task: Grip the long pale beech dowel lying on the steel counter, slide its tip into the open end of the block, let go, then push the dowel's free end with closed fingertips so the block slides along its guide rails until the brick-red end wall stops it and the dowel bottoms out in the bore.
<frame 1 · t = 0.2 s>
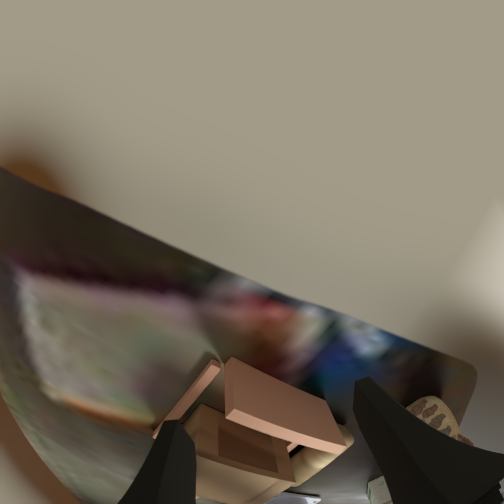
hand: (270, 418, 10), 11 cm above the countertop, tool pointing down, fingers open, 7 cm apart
block: (228, 462, 20), point 3 cm above the countertop, slide at 0.0 cm
syrup box: (384, 480, 29), on the countertop
figurine: (415, 416, 26), on the countertop
short dowel: (310, 445, 25), on the countertop, tilted 6°
end wall and guide rails: (238, 427, 23), on the countertop
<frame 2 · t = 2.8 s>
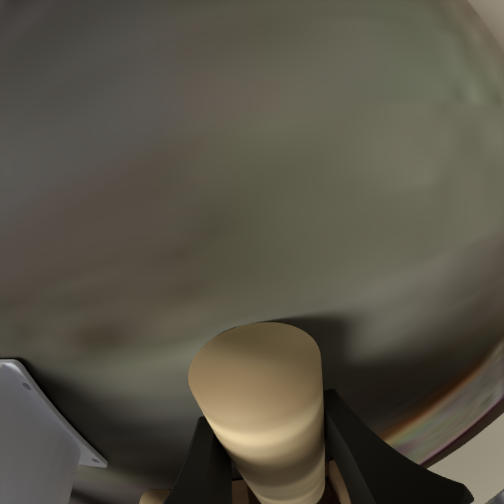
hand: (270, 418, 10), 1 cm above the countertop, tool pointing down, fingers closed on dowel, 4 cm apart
dowel: (270, 415, 12), on the countertop, touching gripper
when the fingers open (2 cm above the countertop, at t = 5.0 s): dowel stays where it is, on the countertop.
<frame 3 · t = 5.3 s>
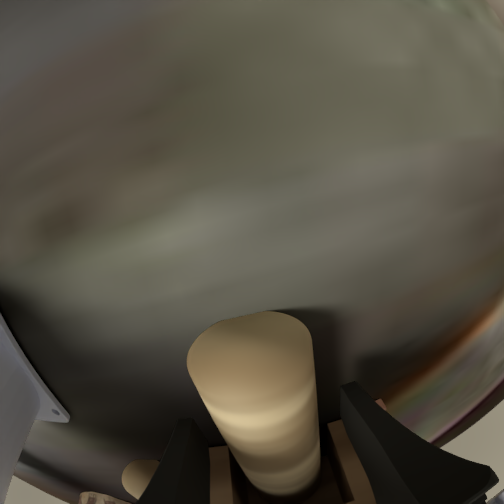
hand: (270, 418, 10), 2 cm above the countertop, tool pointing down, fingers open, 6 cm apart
block: (292, 495, 12), point 3 cm above the countertop, slide at 0.0 cm
figurine: (113, 503, 18), on the countertop
short dowel: (172, 480, 16), on the countertop, tilted 8°
dowel: (268, 404, 13), on the countertop
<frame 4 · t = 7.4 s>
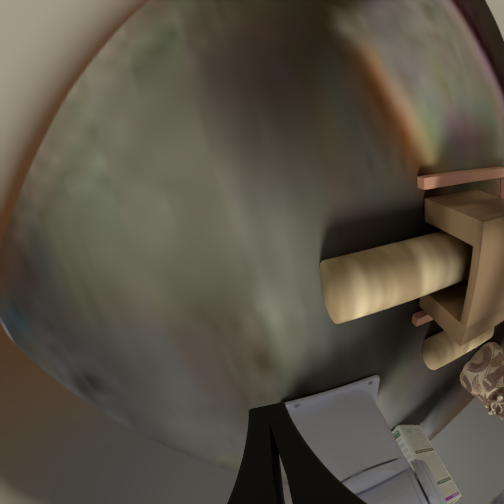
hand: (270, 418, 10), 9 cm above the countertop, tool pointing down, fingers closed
block: (473, 262, 16), point 3 cm above the countertop, slide at 0.0 cm
syrup box: (395, 435, 30), on the countertop
figurine: (477, 361, 27), on the countertop
short dowel: (457, 324, 22), on the countertop, tilted 54°
dowel: (392, 264, 19), on the countertop, tilted 13°
end wall and guide rails: (464, 242, 19), on the countertop
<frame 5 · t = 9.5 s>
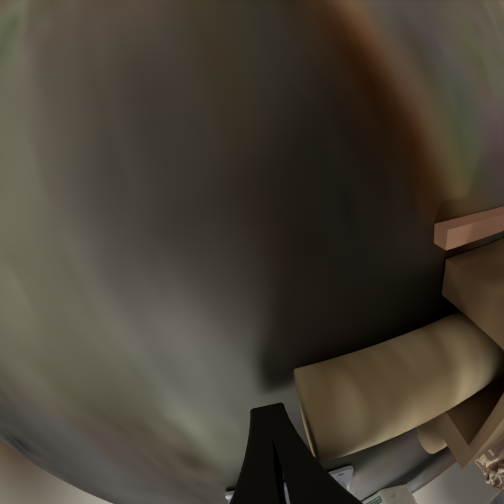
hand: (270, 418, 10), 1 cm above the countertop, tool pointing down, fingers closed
syrup box: (378, 495, 22), on the countertop
figurine: (481, 420, 19), on the countertop
short dowel: (459, 396, 15), on the countertop
dowel: (410, 352, 12), on the countertop, tilted 15°, touching block, gripper
end wall and guide rails: (489, 310, 12), on the countertop
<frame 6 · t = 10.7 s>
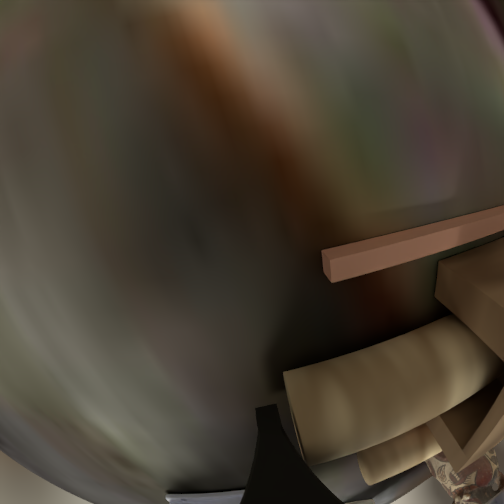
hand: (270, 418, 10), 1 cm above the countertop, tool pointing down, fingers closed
block: (500, 356, 9), point 3 cm above the countertop, slide at 4.5 cm, touching dowel, end wall and guide rails
figurine: (451, 440, 19), on the countertop
short dowel: (410, 424, 15), on the countertop, tilted 23°
dowel: (403, 354, 12), on the countertop, tilted 15°, touching block, gripper
end wall and guide rails: (431, 339, 12), on the countertop
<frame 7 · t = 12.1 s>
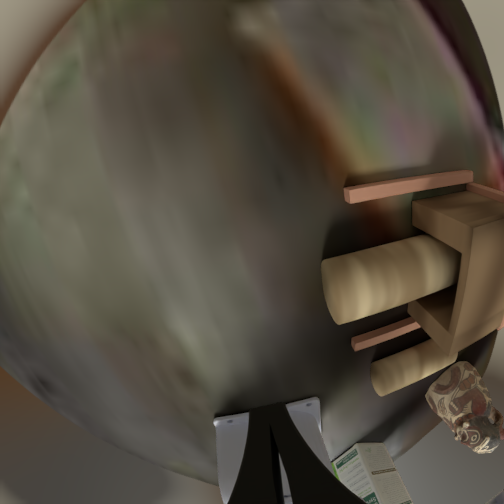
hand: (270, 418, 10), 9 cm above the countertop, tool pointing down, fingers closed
block: (464, 268, 16), point 3 cm above the countertop, slide at 4.5 cm
syrup box: (356, 452, 30), on the countertop
figurine: (447, 381, 26), on the countertop
short dowel: (412, 347, 22), on the countertop, tilted 54°
dowel: (395, 265, 19), on the countertop, tilted 18°
end wall and guide rails: (415, 259, 19), on the countertop
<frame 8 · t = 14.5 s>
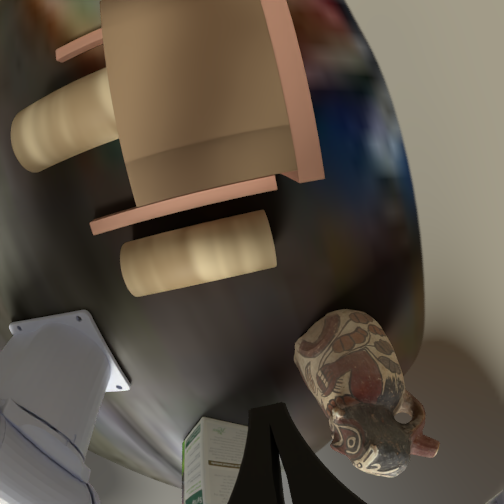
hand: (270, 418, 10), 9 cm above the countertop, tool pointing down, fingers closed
block: (196, 83, 11), point 3 cm above the countertop, slide at 4.5 cm
syrup box: (219, 434, 25), on the countertop
figurine: (336, 344, 21), on the countertop
short dowel: (199, 243, 17), on the countertop
dowel: (128, 118, 14), on the countertop, tilted 24°
end wall and guide rails: (156, 106, 14), on the countertop
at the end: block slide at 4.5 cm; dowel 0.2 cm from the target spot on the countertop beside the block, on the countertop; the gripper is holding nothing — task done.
